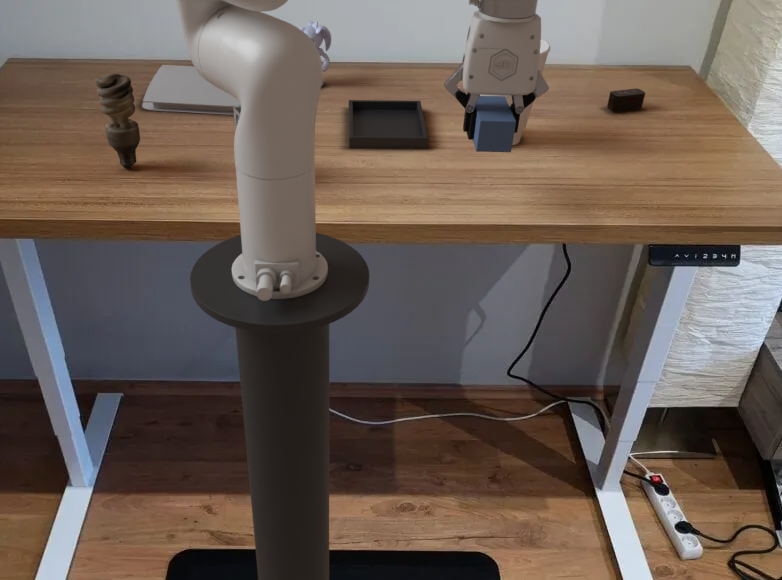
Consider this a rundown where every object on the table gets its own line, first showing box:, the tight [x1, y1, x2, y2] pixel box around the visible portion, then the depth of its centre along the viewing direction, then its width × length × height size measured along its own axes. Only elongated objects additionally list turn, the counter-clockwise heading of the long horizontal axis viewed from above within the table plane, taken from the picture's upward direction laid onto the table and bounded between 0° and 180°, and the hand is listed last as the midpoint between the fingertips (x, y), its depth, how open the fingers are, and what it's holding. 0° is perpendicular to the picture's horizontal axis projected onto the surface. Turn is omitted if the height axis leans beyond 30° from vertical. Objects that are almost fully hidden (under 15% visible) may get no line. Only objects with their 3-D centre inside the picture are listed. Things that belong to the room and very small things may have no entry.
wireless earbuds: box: [606, 88, 646, 114], centre depth 152 cm, size 5×7×3 cm, turn 107°
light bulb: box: [94, 73, 141, 170], centre depth 127 cm, size 6×6×15 cm
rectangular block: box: [472, 96, 516, 153], centre depth 117 cm, size 10×5×4 cm, turn 0°
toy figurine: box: [298, 20, 332, 87], centre depth 158 cm, size 7×6×12 cm
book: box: [141, 64, 241, 116], centre depth 154 cm, size 15×23×4 cm, turn 83°
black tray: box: [348, 99, 429, 150], centre depth 144 cm, size 17×13×2 cm
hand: (489, 135), depth 118 cm, fingers closed on rectangular block, 5 cm apart
